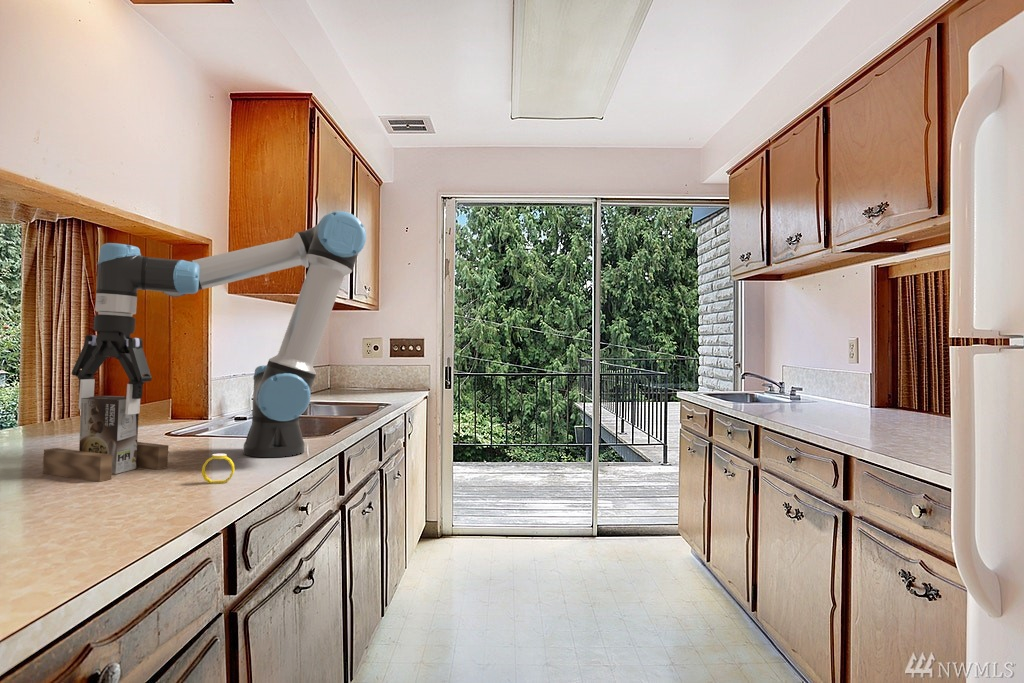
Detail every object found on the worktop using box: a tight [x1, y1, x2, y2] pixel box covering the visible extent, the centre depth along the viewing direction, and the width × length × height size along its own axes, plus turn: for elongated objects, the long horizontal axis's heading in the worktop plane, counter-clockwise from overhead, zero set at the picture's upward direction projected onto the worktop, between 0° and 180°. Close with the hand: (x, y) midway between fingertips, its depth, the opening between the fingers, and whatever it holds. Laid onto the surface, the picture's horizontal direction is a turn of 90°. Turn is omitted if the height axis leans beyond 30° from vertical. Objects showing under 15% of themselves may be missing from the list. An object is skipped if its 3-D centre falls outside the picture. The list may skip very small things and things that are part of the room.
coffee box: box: [78, 395, 140, 475], centre depth 128 cm, size 9×6×16 cm
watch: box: [201, 453, 236, 484], centre depth 122 cm, size 6×3×6 cm, turn 106°
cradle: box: [42, 441, 169, 483], centre depth 128 cm, size 16×16×5 cm
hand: (108, 411), depth 128 cm, fingers open, 13 cm apart
